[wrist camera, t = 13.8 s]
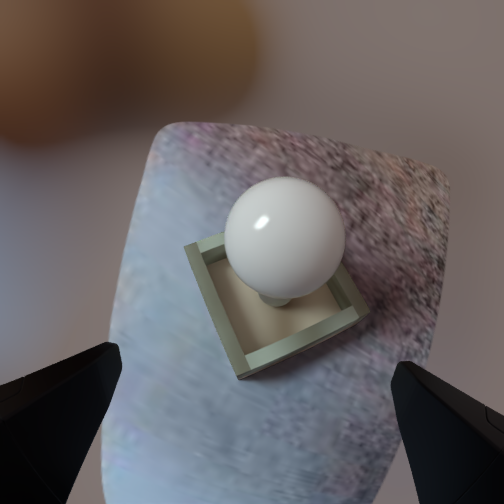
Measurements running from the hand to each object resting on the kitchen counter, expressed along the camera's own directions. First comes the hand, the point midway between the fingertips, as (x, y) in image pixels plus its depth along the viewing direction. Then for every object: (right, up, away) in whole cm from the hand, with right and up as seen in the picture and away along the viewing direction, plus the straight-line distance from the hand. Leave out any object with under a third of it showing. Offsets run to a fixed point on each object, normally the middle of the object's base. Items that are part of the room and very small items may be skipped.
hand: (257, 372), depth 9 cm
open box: (+1, 0, +15) cm, 15 cm away
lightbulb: (+2, 0, +14) cm, 15 cm away
